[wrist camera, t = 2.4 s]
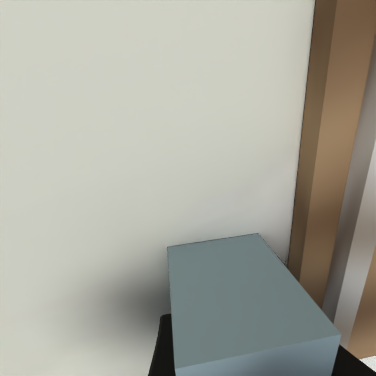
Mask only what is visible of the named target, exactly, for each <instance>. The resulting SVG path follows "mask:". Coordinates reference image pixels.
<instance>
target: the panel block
mask: <svg viewBox="0 0 376 376" xmlns="http://www.w3.org/2000/svg"><path fill="white" fill-rule="evenodd" d="M167 250H168V267H169V283H170V299H171V316H172V332H173V348H174V364H175V373H176V376H331V374H332V370H333V366H334V362H335V358H336V354H337V351H338V347H339V343H340V339H341V335H342V334H341V333H340V332H339V331H338V329H337V328H336V327H335V326H334V325H333V323H332V322H331V321H330V320H329V319H328V317H327V316H326V315H325V314H324V313H323V311H322V310H321V309H320V308H319V306H318V305H317V304H316V303H315V302H314V300H313V299H312V298H311V297H310V296H309V294H308V293H307V292H306V291H305V290H304V288H303V287H302V286H301V285H300V283H299V282H298V281H297V280H296V279H295V277H294V276H293V275H292V274H291V273H290V271H289V270H288V269H287V268H286V266H285V265H284V264H283V263H282V262H281V260H280V259H279V258H278V257H277V256H276V254H275V253H274V252H273V251H272V250H271V248H270V247H269V246H268V245H267V243H266V242H265V241H264V240H263V239H262V237H261V236H260V235H259V234H258V233H257V234H251V235H244V236H237V237H231V238H224V239H218V240H211V241H205V242H198V243H191V244H185V245H178V246H172V247H167Z"/></svg>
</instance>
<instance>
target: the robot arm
mask: <svg viewBox="0 0 376 376" xmlns="http://www.w3.org/2000/svg"><path fill="white" fill-rule="evenodd" d="M148 376H176V373H175V364H174V348H173V332H172V316H171V314H165V315H162V316H161V317H160V325H159V331H158V337H157V342H156V346H155V351H154V355H153V358H152V362H151V366H150V370H149V374H148ZM331 376H376V372H375V371H373V370H372V369H371V368H369V367H368V366H367V365H365V364H364V363H363V362H361V361H360V360H359V359H358V358H356V357H355V356H354V355H353V354H351V353H350V352H349V351H347V350H346V349H345V348H344V347H343V346H341V345H340V344H339V347H338V351H337V354H336V358H335V362H334V366H333V370H332V374H331Z"/></svg>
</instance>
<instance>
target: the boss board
mask: <svg viewBox="0 0 376 376" xmlns="http://www.w3.org/2000/svg"><path fill="white" fill-rule="evenodd" d="M288 270H289V271H290V273H291V274H292V275H293V276H294V277H295V279H296V280H297V281H298V282H299V283H300V285H301V286H302V287H303V288H304V290H305V291H306V292H307V293H308V294H309V296H310V297H311V298H312V299H313V300H314V302H315V303H316V304H317V305H318V306H319V308H320V309H321V310H322V311H323V313H324V314H325V315H326V316H327V317H328V319H329V320H330V321H331V322H332V323H333V325H334V326H335V327H336V328H337V329H338V331H339V332H340V333H341V334H342V335H341V339H340V343H339V344H340V345H341V346H343V347H344V348H345V349H346V350H347V351H349V352H350V353H351V354H353V355H354V356H355V357H356V358H358V359H362V358H367V357H371V356H376V0H316V4H315V14H314V23H313V33H312V42H311V52H310V61H309V71H308V80H307V90H306V99H305V109H304V118H303V128H302V137H301V147H300V156H299V166H298V175H297V185H296V194H295V204H294V213H293V223H292V232H291V242H290V251H289V261H288Z"/></svg>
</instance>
